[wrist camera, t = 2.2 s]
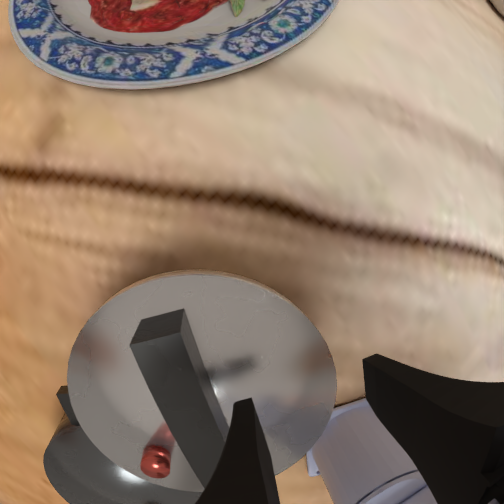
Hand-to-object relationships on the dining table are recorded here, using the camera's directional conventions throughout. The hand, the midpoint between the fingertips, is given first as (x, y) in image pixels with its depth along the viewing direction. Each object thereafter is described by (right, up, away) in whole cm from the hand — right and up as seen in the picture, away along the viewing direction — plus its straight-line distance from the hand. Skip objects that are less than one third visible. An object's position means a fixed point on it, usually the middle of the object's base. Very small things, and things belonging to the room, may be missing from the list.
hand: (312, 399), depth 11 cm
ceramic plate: (-8, +28, +5) cm, 29 cm away
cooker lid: (-5, -3, +5) cm, 8 cm away
